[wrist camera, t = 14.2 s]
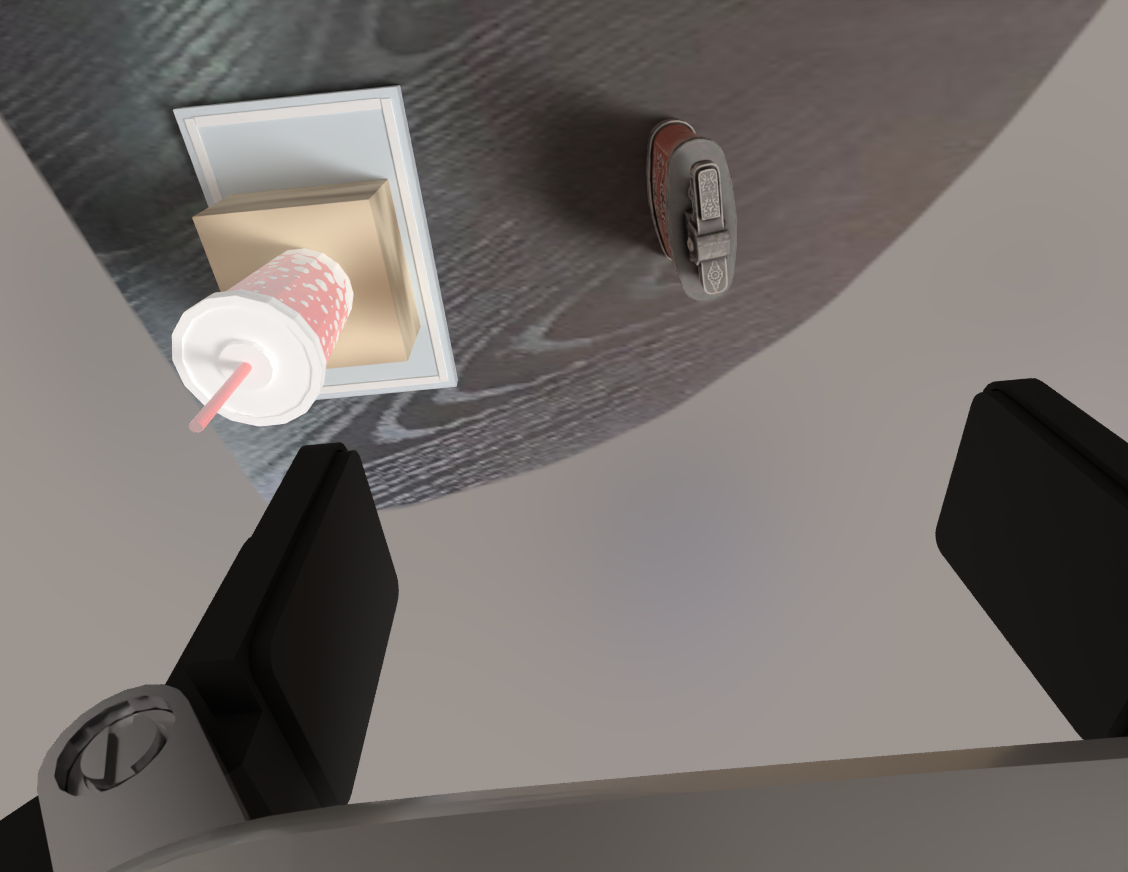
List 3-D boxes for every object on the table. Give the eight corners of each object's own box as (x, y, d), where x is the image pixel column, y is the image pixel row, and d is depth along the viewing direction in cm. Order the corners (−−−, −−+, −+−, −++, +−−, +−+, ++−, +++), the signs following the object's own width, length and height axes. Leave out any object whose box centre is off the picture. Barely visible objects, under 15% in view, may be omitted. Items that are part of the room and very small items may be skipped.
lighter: (710, 251, 41) (754, 312, 33) (656, 263, 41) (687, 325, 33) (698, 112, 37) (746, 139, 28) (638, 125, 37) (668, 157, 29)
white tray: (181, 107, 36) (171, 109, 35) (399, 85, 36) (396, 86, 35) (285, 395, 45) (280, 403, 44) (457, 379, 45) (456, 387, 44)
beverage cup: (299, 207, 33) (167, 313, 21) (391, 296, 36) (319, 434, 24) (226, 284, 35) (68, 420, 23) (318, 363, 38) (218, 521, 26)
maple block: (231, 194, 37) (191, 217, 33) (388, 178, 37) (368, 199, 33) (281, 339, 42) (252, 375, 38) (420, 326, 42) (407, 361, 38)
